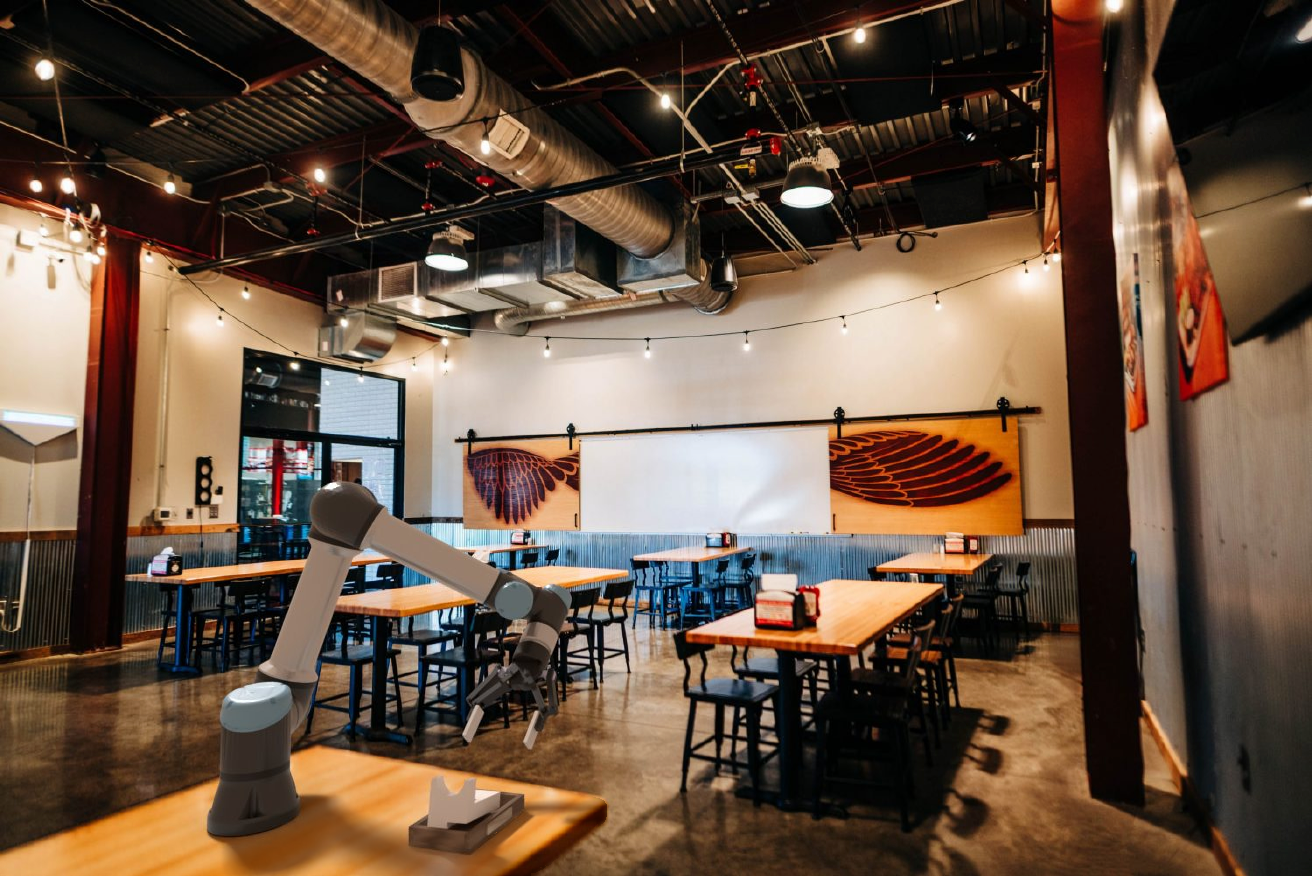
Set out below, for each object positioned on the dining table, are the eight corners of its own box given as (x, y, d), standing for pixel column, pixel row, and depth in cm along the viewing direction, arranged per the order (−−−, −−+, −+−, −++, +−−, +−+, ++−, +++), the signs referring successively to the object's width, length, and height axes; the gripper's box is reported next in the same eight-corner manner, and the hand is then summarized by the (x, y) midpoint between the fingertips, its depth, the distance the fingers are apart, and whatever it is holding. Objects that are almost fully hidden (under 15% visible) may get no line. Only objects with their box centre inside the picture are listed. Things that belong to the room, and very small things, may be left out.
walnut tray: (408, 845, 125) (408, 826, 125) (468, 804, 142) (468, 787, 142) (471, 854, 121) (471, 835, 121) (525, 811, 138) (525, 794, 138)
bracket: (465, 830, 123) (469, 780, 125) (427, 827, 125) (431, 778, 127) (499, 812, 135) (502, 768, 137) (463, 810, 137) (467, 766, 139)
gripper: (592, 663, 157) (560, 759, 142) (491, 656, 166) (449, 745, 150) (582, 642, 153) (547, 738, 138) (478, 635, 161) (434, 726, 146)
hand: (496, 742), depth 144 cm, fingers open, 13 cm apart
